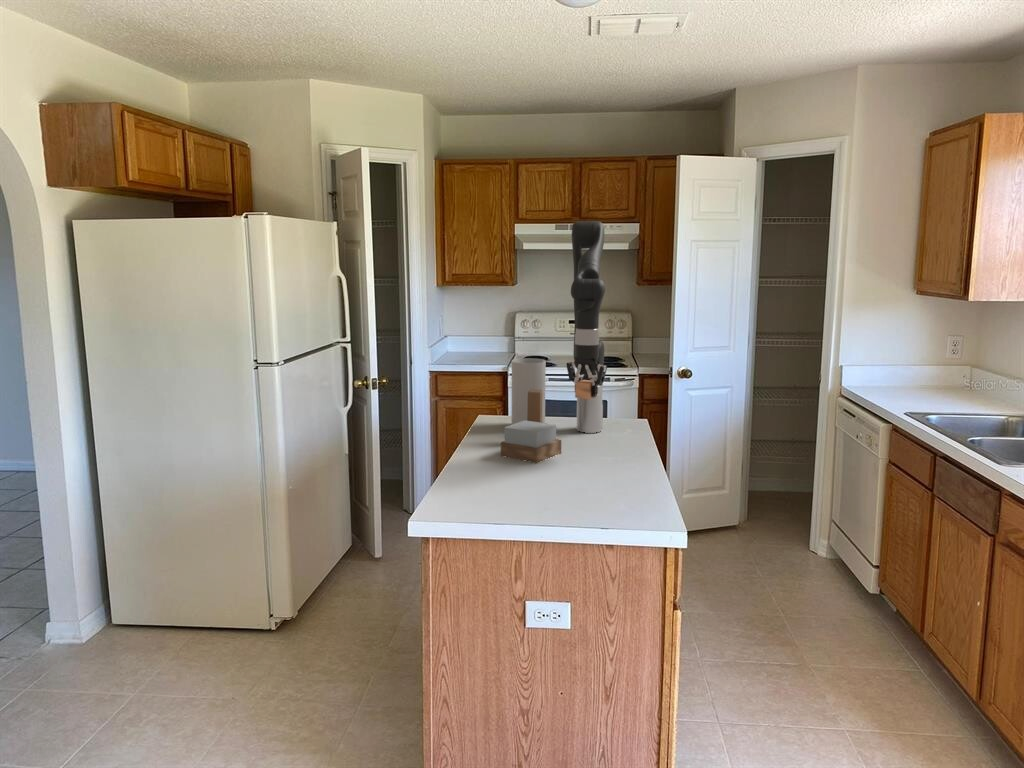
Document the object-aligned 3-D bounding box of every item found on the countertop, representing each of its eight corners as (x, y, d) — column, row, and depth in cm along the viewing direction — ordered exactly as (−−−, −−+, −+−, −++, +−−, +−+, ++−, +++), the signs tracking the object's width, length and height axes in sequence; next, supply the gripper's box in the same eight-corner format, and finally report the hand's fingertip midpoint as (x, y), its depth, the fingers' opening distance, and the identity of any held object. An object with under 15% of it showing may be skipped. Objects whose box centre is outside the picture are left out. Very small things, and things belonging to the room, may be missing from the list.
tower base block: (526, 448, 248) (526, 433, 247) (561, 455, 240) (561, 440, 239) (500, 457, 237) (500, 442, 236) (536, 464, 229) (536, 449, 228)
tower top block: (524, 434, 246) (524, 420, 245) (555, 439, 239) (555, 424, 238) (504, 442, 236) (504, 427, 235) (536, 447, 229) (536, 432, 228)
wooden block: (554, 441, 255) (555, 390, 252) (553, 444, 251) (553, 392, 248) (529, 440, 257) (529, 389, 253) (527, 443, 252) (527, 391, 249)
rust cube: (583, 395, 239) (583, 379, 238) (596, 396, 236) (597, 381, 235) (575, 397, 235) (575, 381, 234) (588, 399, 232) (589, 383, 231)
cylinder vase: (550, 425, 278) (551, 360, 274) (534, 432, 268) (534, 364, 263) (522, 421, 285) (522, 357, 280) (505, 428, 274) (505, 361, 270)
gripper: (612, 343, 231) (611, 396, 234) (573, 340, 240) (573, 391, 243) (600, 345, 225) (599, 400, 228) (561, 342, 234) (560, 395, 237)
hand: (585, 395), depth 235 cm, fingers closed on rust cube, 5 cm apart
